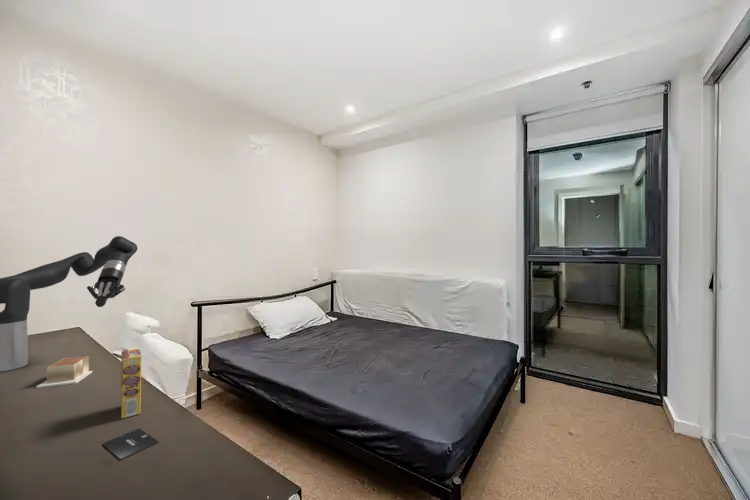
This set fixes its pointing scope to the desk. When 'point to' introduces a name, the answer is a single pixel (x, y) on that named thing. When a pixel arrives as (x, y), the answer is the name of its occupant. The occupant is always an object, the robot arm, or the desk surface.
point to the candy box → (130, 383)
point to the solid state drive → (129, 443)
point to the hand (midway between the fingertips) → (99, 305)
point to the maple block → (67, 369)
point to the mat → (64, 381)
